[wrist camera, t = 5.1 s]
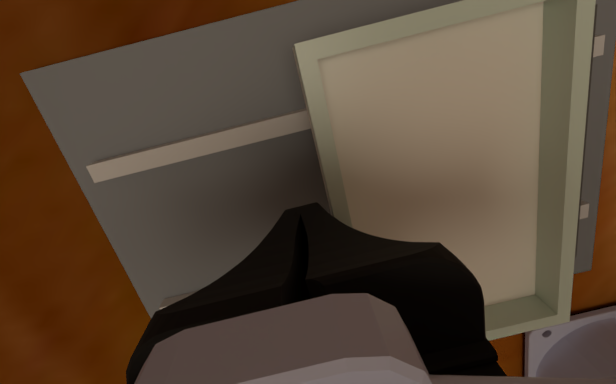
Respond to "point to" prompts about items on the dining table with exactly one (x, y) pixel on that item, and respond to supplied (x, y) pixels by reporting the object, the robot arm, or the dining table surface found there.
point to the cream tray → (463, 141)
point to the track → (230, 137)
